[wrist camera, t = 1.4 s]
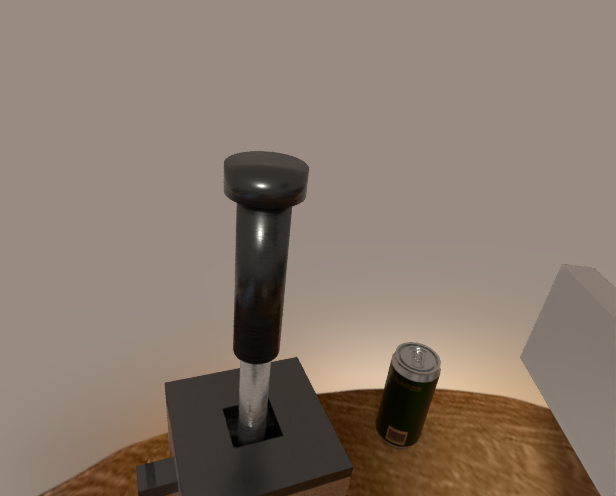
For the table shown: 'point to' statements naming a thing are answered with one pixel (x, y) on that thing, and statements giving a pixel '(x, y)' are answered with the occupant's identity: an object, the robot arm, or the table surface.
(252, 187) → the plunger
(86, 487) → the table surface
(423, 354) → the green drink can
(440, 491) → the table surface
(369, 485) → the table surface
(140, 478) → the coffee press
